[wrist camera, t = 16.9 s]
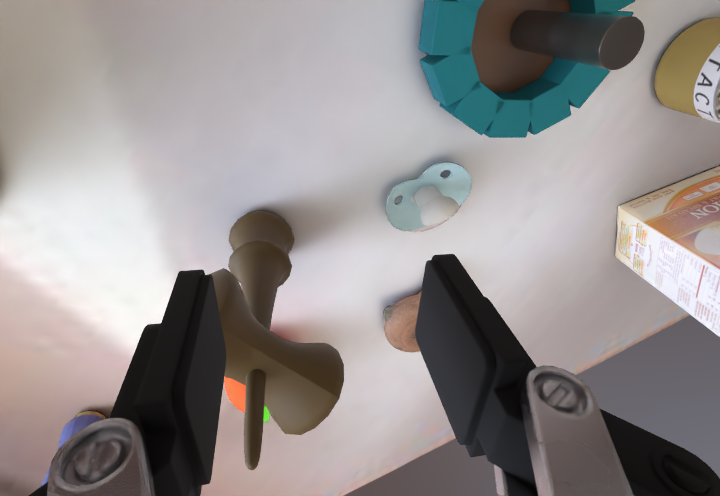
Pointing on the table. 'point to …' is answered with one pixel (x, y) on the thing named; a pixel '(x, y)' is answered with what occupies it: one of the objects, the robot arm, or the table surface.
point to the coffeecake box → (677, 243)
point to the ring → (501, 109)
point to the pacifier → (428, 198)
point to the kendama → (270, 337)
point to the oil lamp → (402, 323)
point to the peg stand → (546, 40)
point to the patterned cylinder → (692, 72)
